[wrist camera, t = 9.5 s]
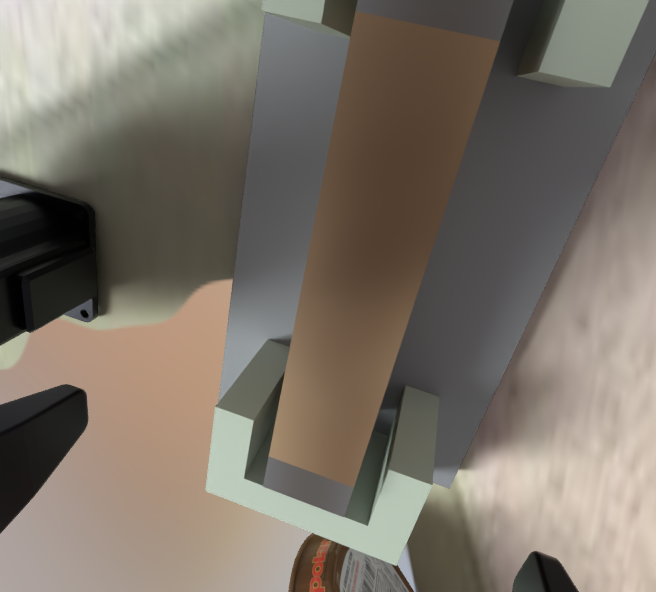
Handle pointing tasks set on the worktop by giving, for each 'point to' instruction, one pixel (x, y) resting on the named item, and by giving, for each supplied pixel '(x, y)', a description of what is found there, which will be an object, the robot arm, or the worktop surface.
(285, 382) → the rail
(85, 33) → the worktop surface
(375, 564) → the tin
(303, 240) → the post frame
